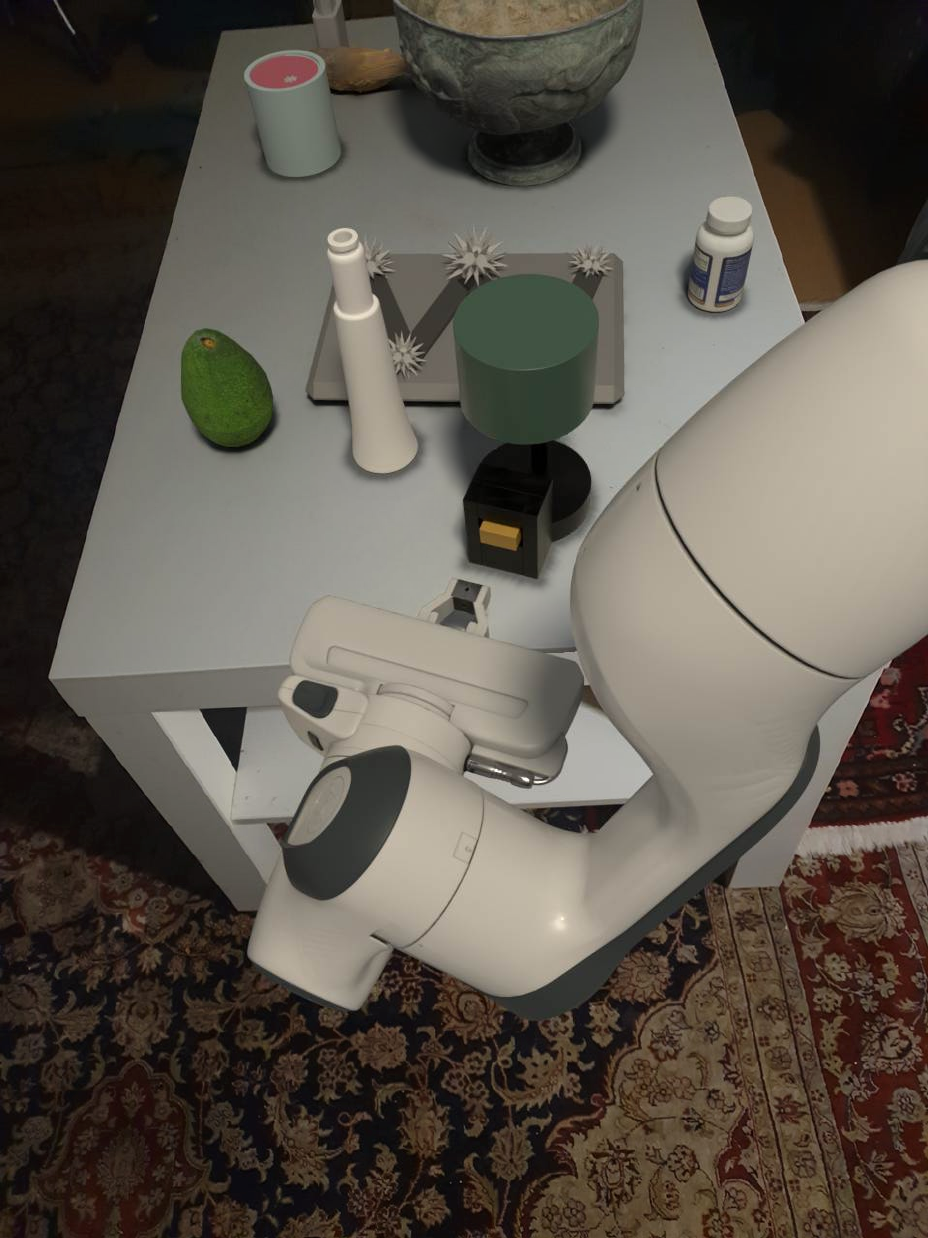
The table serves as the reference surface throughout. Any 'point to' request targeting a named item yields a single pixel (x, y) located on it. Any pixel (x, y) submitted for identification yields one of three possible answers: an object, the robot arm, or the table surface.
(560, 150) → the decorative bowl
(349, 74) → the bird model
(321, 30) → the power adapter
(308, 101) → the mug
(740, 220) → the pill bottle
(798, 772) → the robot arm
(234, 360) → the fruit
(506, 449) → the desk lamp
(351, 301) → the cosmetic bottle
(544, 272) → the decorative plate
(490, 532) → the lamp switch
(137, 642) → the table surface
